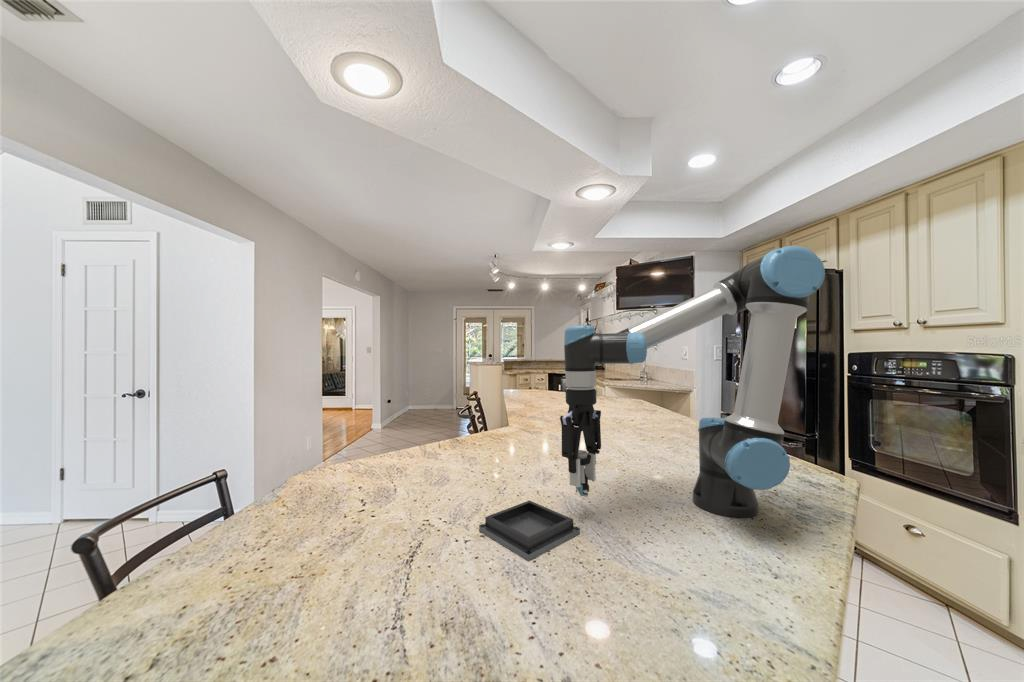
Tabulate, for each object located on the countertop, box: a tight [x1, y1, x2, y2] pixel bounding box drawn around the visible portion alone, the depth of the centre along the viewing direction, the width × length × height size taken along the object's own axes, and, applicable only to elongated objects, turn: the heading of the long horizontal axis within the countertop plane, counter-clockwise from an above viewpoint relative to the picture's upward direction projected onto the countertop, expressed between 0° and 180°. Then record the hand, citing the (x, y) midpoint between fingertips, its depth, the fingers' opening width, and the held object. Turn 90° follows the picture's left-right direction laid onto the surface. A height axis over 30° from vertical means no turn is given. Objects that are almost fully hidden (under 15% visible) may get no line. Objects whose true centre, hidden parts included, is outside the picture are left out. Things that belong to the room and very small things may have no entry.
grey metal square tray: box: [478, 500, 581, 562], centre depth 83 cm, size 16×16×3 cm
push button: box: [575, 449, 591, 498], centre depth 91 cm, size 7×5×10 cm
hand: (582, 482), depth 91 cm, fingers closed on push button, 5 cm apart
